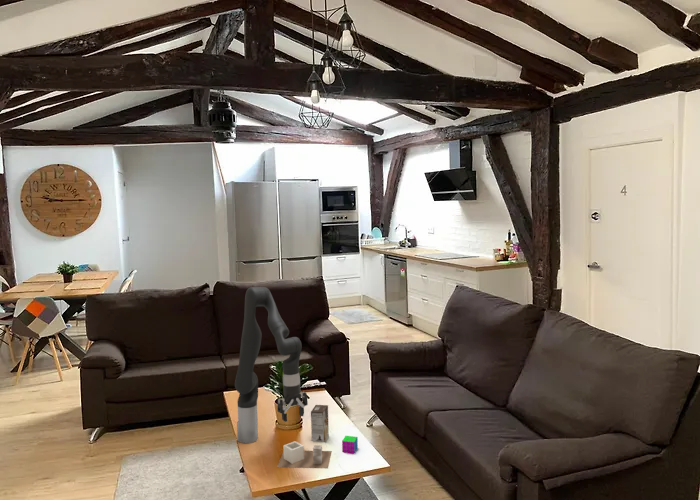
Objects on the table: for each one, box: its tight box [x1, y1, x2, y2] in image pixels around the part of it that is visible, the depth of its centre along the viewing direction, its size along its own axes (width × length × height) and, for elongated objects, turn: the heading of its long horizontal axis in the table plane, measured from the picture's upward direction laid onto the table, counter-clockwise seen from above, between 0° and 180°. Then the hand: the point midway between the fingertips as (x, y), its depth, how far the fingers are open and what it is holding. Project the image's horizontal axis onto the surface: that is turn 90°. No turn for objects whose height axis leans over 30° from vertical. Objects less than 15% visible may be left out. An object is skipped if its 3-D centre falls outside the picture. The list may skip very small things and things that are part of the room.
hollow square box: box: [282, 440, 305, 464], centre depth 242 cm, size 6×6×6 cm
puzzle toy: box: [341, 435, 359, 455], centre depth 252 cm, size 6×6×6 cm
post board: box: [276, 444, 333, 469], centre depth 242 cm, size 22×16×8 cm
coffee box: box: [310, 404, 330, 444], centre depth 263 cm, size 9×6×16 cm
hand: (293, 418), depth 243 cm, fingers open, 8 cm apart
